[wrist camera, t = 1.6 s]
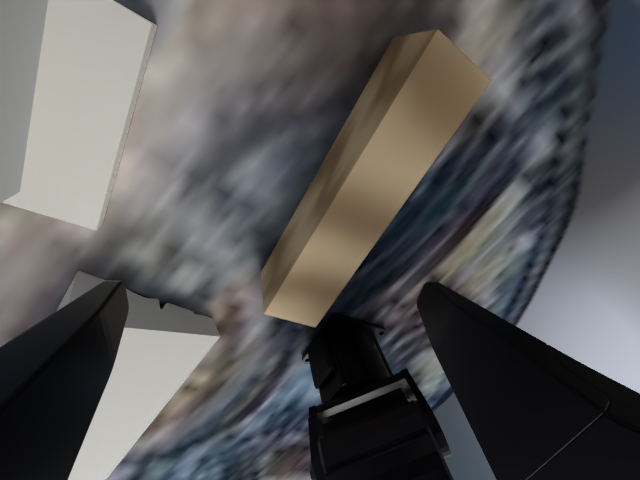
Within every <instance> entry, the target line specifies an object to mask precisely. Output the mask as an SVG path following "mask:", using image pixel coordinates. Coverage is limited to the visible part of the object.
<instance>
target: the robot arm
mask: <svg viewBox="0 0 640 480" xmlns="http://www.w3.org/2000/svg"><path fill="white" fill-rule="evenodd" d="M417 308H418V310H419V313H420V316H421V319H422V321H423V324H424V327H425V329H426V332H427V335H428V337H429V340H430V342H431V345H432V347H433V350H434V352H435V354H436V356H437V358H438V360H439V362H440V364H441V366H442V368H443V370H444V372H445V374H446V377H447V379H448V381H449V383H450V385H451V387H452V389H453V391H454V393H455V395H456V397H457V399H458V401H459V403H460V405H461V407H462V409H463V411H464V413H465V416H466V418H467V420H468V422H469V424H470V426H471V428H472V430H473V432H474V434H475V436H476V438H477V440H478V442H479V444H480V446H481V448H482V451H483V453H484V455H485V457H486V459H487V461H488V463H489V465H490V467H491V469H492V471H493V473H494V475H495V477H496V479H497V480H640V394H639V393H637V392H635V391H633V390H631V389H630V388H628V387H626V386H624V385H621V384H620V383H618V382H616V381H614V380H612V379H610V378H608V377H606V376H604V375H603V374H601V373H598V372H597V371H595V370H593V369H591V368H589V367H587V366H586V365H584V364H581V363H580V362H578V361H576V360H574V359H573V358H571V357H569V356H567V355H565V354H563V353H562V352H560V351H558V350H557V349H555V348H553V347H551V346H550V345H547V344H546V343H544V342H542V341H541V340H539V339H537V338H536V337H534V336H532V335H530V334H528V333H526V332H525V331H523V330H521V329H520V328H518V327H516V326H514V325H513V324H511V323H509V322H507V321H506V320H504V319H502V318H500V317H499V316H497V315H495V314H493V313H492V312H490V311H488V310H486V309H485V308H483V307H481V306H479V305H478V304H476V303H474V302H472V301H471V300H469V299H467V298H465V297H463V296H462V295H460V294H458V293H456V292H455V291H453V290H451V289H449V288H448V287H446V286H444V285H442V284H441V283H439V282H426V283H425V284H424V285H423V288H422V290H421V292H420V294H419V297H418V299H417ZM128 311H129V303H128V298H127V292H126V286H125V284H124V282H123V281H120V280H107V281H103V282H101V283H100V284H98V285H97V286H95V287H94V288H92V289H90V290H89V291H87V292H86V293H84V294H83V295H81V296H79V297H78V298H76V299H75V300H73V301H72V302H70V303H69V304H67V305H65V306H64V307H62V308H61V309H59V310H58V311H56V312H54V313H53V314H51V315H50V316H48V317H47V318H45V319H44V320H42V321H40V322H39V323H37V324H36V325H34V326H33V327H31V328H30V329H28V330H26V331H25V332H23V333H22V334H20V335H19V336H17V337H15V338H14V339H12V340H11V341H9V342H8V343H6V344H5V345H3V346H1V347H0V480H68V478H69V475H70V473H71V471H72V468H73V466H74V463H75V461H76V458H77V456H78V453H79V451H80V448H81V446H82V444H83V441H84V439H85V436H86V434H87V431H88V429H89V426H90V424H91V422H92V419H93V417H94V414H95V412H96V409H97V407H98V404H99V402H100V400H101V397H102V395H103V392H104V390H105V387H106V385H107V382H108V380H109V377H110V375H111V372H112V369H113V366H114V363H115V360H116V356H117V352H118V349H119V345H120V341H121V338H122V334H123V330H124V327H125V323H126V319H127V316H128ZM335 319H336V320H335ZM385 334H386V330H385V328H384V327H382V326H378V325H375V324H371V323H368V322H364V321H360V320H357V319H353V318H350V317H346V316H343V315H339V314H333V315H331V316H330V318H329V319H328V321H327V322H326V323H325V325H324V326H323V328H322V329H321V331H320V332H319V333H318V334H317V336H316V337H315V339H314V340H313V342H312V343H311V344H310V346H309V347H308V349H307V350H306V352H305V353H304V355H303V356H302V360H303V363H305V364H310V367H311V372H312V376H313V381H314V386H315V388H316V389H319V392H320V396H321V401H322V404H320V405H317V406H315V405H314V406H312V407H309V418H308V423H309V437H310V451H311V464H310V475H311V479H312V480H453V478H452V475H451V473H450V471H449V469H448V467H447V465H446V462H445V460H444V458H447V457H449V456H451V452H450V449H449V446H448V444H447V441H446V439H445V436H444V434H443V432H442V430H441V427H440V425H439V423H438V421H437V419H436V417H435V415H434V413H433V412H432V410H431V408H430V406H429V405H428V403H427V401H426V400H425V398H424V396H423V395H422V393H421V391H420V390H419V388H418V386H417V385H416V383H415V382H414V380H413V378H412V377H411V375H410V373H409V372H408V370H407V368H406V369H403V370H401V372H399V373H397V374H394V375H393V373H392V371H391V369H390V367H389V365H388V363H387V361H386V359H385V357H384V354H383V352H382V350H381V348H380V346H379V344H378V343H379V341H380V340H381V339H382V338H383V337H384V335H385Z"/></svg>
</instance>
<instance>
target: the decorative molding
mask: <svg viewBox="0 0 640 480" xmlns="http://www.w3.org/2000/svg"><path fill="white" fill-rule="evenodd" d="M103 281H106V280H103V279H100V278H97V277H95V276H92V275H89V274H86V273H83V272H81V271H78V272H77V273H76V275H75V277H74V279H73V281H72V283H71V284H70V286H69V288H68V290H67V292H66V294H65V296H64V297H63V299H62V301H61V303H60V305H59V307H58V309H57V311H58V310H59V309H61V308H62V307H64V306H65V305H67V304H69V303H70V302H72V301H73V300H75V299H76V298H78V297H79V296H81V295H83V294H84V293H86V292H87V291H89V290H90V289H92V288H94V287H95V286H97V285H98V284H100V283H101V282H103ZM126 292H127V298H128V303H129V311H128V316H127V319H126V323H125V327H124V330H123V334H122V338H121V341H120V345H119V349H118V352H117V356H116V360H115V363H114V366H113V369H112V372H111V375H110V377H109V380H108V382H107V385H106V387H105V390H104V392H103V395H102V397H101V400H100V402H99V404H98V407H97V409H96V412H95V414H94V417H93V419H92V422H91V424H90V426H89V429H88V431H87V434H86V436H85V439H84V441H83V444H82V446H81V448H80V451H79V453H78V456H77V458H76V461H75V463H74V466H73V468H72V471H71V473H70V475H69V478H68V480H106V479H107V477H108V476H109V475H110V474H111V472H112V471H113V470H114V469H115V467H116V466H117V465H118V464H119V462H120V461H121V460H122V459H123V457H124V456H125V455H126V454H127V452H128V451H129V450H130V449H131V447H132V446H133V445H134V444H135V442H136V441H137V440H138V439H139V437H140V436H141V435H142V434H143V432H144V431H145V430H146V429H147V427H148V426H149V425H150V424H151V422H152V421H153V420H154V419H155V417H156V416H157V415H158V414H159V412H160V411H161V410H162V409H163V407H164V406H165V405H166V404H167V402H168V401H169V400H170V399H171V397H172V396H173V395H174V394H175V392H176V391H177V390H178V389H179V387H180V386H181V385H182V384H183V382H184V381H185V380H186V379H187V377H188V376H189V375H190V374H191V372H192V371H193V370H194V369H195V367H196V366H197V365H198V364H199V362H200V361H201V360H202V359H203V357H204V356H205V355H206V354H207V352H208V351H209V350H210V349H211V347H212V346H213V345H214V344H215V342H216V341H217V340H218V339H219V337H220V335H219V333H218V330H217V328H216V326H215V323H214V321H213V319H212V318H210V317H207V316H203V315H197V314H194V312H193V311H190V310H187V309H184V308H182V307H179V306H176V305H173V304H170V303H167V304H165V305H164V307H163V308H162V309H160V305H159V300H158V299H151V298H144V297H142V296H140V295H137V294H135V293H133V292H131V291H130V290H128V289H127V288H126Z"/></svg>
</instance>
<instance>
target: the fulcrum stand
mask: <svg viewBox="0 0 640 480" xmlns="http://www.w3.org/2000/svg"><path fill="white" fill-rule="evenodd" d="M156 29H157V25H156V24H154V23H152V22H150V21H149V20H147V19H145V18H144V17H142V16H140V15H139V14H137V13H135V12H133V11H132V10H130V9H128V8H127V7H125V6H123V5H121V4H120V3H118V2H116V1H115V0H0V203H1V202H2V203H6V204H9V205H12V206H16V207H19V208H22V209H26V210H29V211H32V212H36V213H39V214H42V215H46V216H49V217H52V218H56V219H59V220H63V221H66V222H69V223H73V224H76V225H79V226H83V227H86V228H89V229H93V230H97V229H98V228H99V227H100V226H101V225H102V224H103V221H104V217H105V214H106V210H107V207H108V203H109V199H110V196H111V192H112V188H113V185H114V181H115V178H116V174H117V170H118V167H119V163H120V159H121V156H122V152H123V149H124V145H125V141H126V138H127V134H128V130H129V127H130V123H131V120H132V116H133V112H134V109H135V105H136V101H137V98H138V94H139V90H140V87H141V83H142V80H143V76H144V72H145V69H146V65H147V61H148V58H149V54H150V51H151V47H152V43H153V40H154V36H155V32H156Z"/></svg>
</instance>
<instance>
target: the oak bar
mask: <svg viewBox="0 0 640 480" xmlns="http://www.w3.org/2000/svg"><path fill="white" fill-rule="evenodd" d="M491 81H492V80H491V79H490V78H489V77H488V76H487V75H486V74H485V73H484V72H483V71H482V70H481V69H480V68H479V67H478V66H477V65H475V64H474V63H473V62H472V61H471V60H470V59H469V58H468V57H467V56H466V55H465V54H464V53H463V52H462V51H461V50H460V49H459V48H457V47H456V46H455V45H454V44H453V43H452V42H451V41H450V40H449V39H448V38H447V37H446V36H445V35H444V34H443V33H442V32H441V31H439V30H438V29H435V30H430V31H424V32H419V33H413V34H407V35H402V36H396V37H393V39H392V41H391V42H390V44H389V46H388V48H387V49H386V51H385V53H384V55H383V57H382V58H381V60H380V62H379V64H378V65H377V67H376V69H375V71H374V72H373V74H372V76H371V78H370V80H369V81H368V83H367V85H366V87H365V88H364V90H363V92H362V94H361V95H360V97H359V99H358V101H357V103H356V104H355V106H354V108H353V110H352V111H351V113H350V115H349V117H348V119H347V120H346V122H345V124H344V126H343V127H342V129H341V131H340V133H339V134H338V136H337V138H336V140H335V142H334V143H333V145H332V147H331V149H330V150H329V152H328V154H327V156H326V158H325V159H324V161H323V163H322V165H321V166H320V168H319V170H318V172H317V173H316V175H315V177H314V179H313V181H312V182H311V184H310V186H309V188H308V189H307V191H306V193H305V195H304V196H303V198H302V200H301V202H300V204H299V205H298V207H297V209H296V211H295V212H294V214H293V216H292V218H291V220H290V221H289V223H288V225H287V227H286V228H285V230H284V232H283V234H282V235H281V237H280V239H279V241H278V243H277V244H276V246H275V248H274V250H273V251H272V253H271V255H270V257H269V258H268V260H267V262H266V264H265V266H264V267H263V269H262V271H261V277H262V292H263V306H264V314H266V315H270V316H274V317H277V318H281V319H285V320H289V321H293V322H296V323H300V324H304V325H308V326H312V327H316V326H317V325H318V323H319V322H320V321H321V319H322V318H323V316H324V315H325V314H326V312H327V311H328V309H329V308H330V307H331V305H332V304H333V302H334V301H335V300H336V298H337V297H338V295H339V294H340V293H341V291H342V290H343V288H344V287H345V286H346V284H347V283H348V281H349V280H350V278H351V277H352V276H353V274H354V273H355V271H356V270H357V269H358V267H359V266H360V264H361V263H362V262H363V260H364V259H365V257H366V256H367V255H368V253H369V252H370V250H371V249H372V248H373V246H374V245H375V243H376V242H377V241H378V239H379V238H380V236H381V235H382V234H383V232H384V231H385V229H386V228H387V227H388V225H389V224H390V222H391V221H392V220H393V218H394V217H395V215H396V214H397V213H398V211H399V210H400V208H401V207H402V205H403V204H404V203H405V201H406V200H407V198H408V197H409V196H410V194H411V193H412V191H413V190H414V189H415V187H416V186H417V184H418V183H419V182H420V180H421V179H422V177H423V176H424V175H425V173H426V172H427V170H428V169H429V168H430V166H431V165H432V163H433V162H434V161H435V159H436V158H437V156H438V155H439V154H440V152H441V151H442V149H443V148H444V147H445V145H446V144H447V142H448V141H449V140H450V138H451V137H452V135H453V134H454V132H455V131H456V130H457V128H458V127H459V125H460V124H461V123H462V121H463V120H464V118H465V117H466V116H467V114H468V113H469V111H470V110H471V109H472V107H473V106H474V104H475V103H476V102H477V100H478V99H479V97H480V96H481V95H482V93H483V92H484V90H485V89H486V88H487V86H488V85H489V83H490V82H491Z"/></svg>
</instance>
